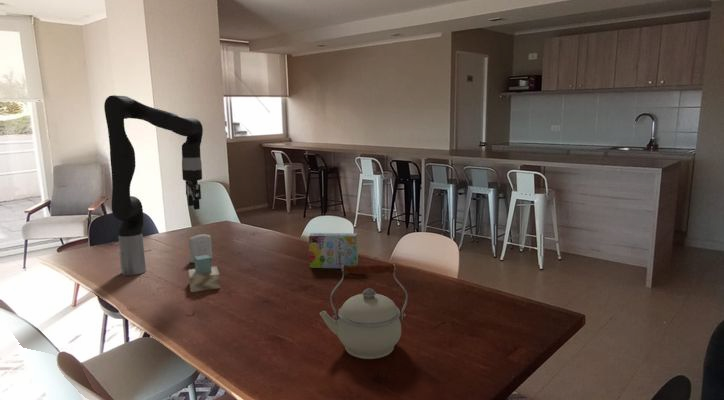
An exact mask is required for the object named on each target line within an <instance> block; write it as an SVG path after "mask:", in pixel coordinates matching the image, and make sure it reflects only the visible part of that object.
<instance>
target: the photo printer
mask: <svg viewBox="0 0 724 400" xmlns="http://www.w3.org/2000/svg"><path fill="white" fill-rule="evenodd" d="M188 242H189V245H188V246H189V257H190V259H189V260H190V263H194V264H195V259H194V257H196V256H202V255H208V256H209V257H210V258H211V260H212V259H213V246H212V245H213V244H212V236H211V235H210V234H197V235H195V236H192V237H190V238H189V241H188Z"/></svg>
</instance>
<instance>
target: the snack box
mask: <svg viewBox="0 0 724 400" xmlns="http://www.w3.org/2000/svg"><path fill="white" fill-rule="evenodd" d="M358 238H359V237H358V233H356V232H355V233H354V232H353V233H352V232H350V233H349V232H348V233H347V232H345V233H344V232H343V233H342V232H338V233H337V232H335V233H333V232H311V233H310V234H309V236H308V244H309V245H308V246H309V247H308V249H309V268H311V269H316V268H317V269H342V268H343V265H348V266H354V265H359V252H358V251H359V249H358V248H359V246H358V244H359V242H358V241H359V239H358Z"/></svg>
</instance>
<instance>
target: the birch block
mask: <svg viewBox="0 0 724 400" xmlns="http://www.w3.org/2000/svg"><path fill="white" fill-rule="evenodd" d="M187 271H188V279H189V280H188V281H189V289H190V290H189V291H190V293H196V292H201V291H208V290H216V289H220V288H221V278H220V275H221V274H220V271H219V269H218V266H217V265H216V266H215V265H213V266H211V271H212V272H210V273H205V274H198V273H197V272H196V271H195V268H191V269H190V268H189V269H188V270H187Z"/></svg>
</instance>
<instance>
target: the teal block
mask: <svg viewBox="0 0 724 400" xmlns="http://www.w3.org/2000/svg"><path fill="white" fill-rule="evenodd" d="M194 259H195V262H194V269H195V271H196V272H197V273H198V274H205V273H210V272H212V271H211V267H212V259H211V258H210V257H209V256H208V255H202V256H196V257H194Z"/></svg>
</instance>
